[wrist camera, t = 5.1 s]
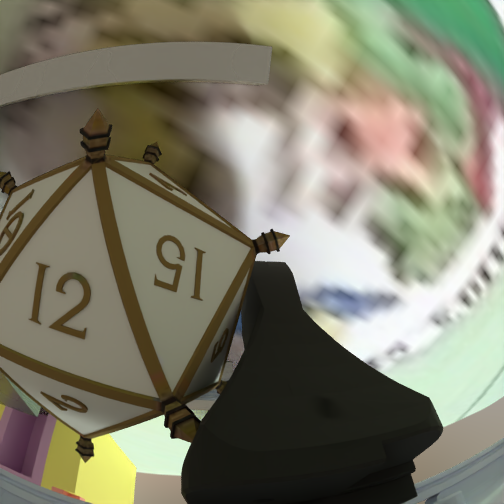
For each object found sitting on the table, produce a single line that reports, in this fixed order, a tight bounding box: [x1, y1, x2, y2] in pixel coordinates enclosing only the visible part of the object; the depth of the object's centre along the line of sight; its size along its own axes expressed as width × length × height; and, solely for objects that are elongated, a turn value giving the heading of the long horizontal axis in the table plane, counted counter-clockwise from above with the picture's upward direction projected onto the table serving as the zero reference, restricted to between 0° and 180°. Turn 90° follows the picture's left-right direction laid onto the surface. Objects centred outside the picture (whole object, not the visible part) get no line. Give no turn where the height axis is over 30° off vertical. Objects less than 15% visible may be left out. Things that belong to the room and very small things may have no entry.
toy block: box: [0, 404, 136, 504], centre depth 14 cm, size 15×15×15 cm
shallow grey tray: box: [0, 42, 272, 417], centre depth 9 cm, size 18×18×4 cm
